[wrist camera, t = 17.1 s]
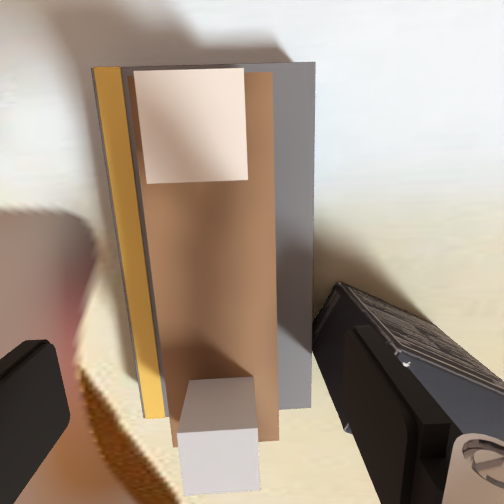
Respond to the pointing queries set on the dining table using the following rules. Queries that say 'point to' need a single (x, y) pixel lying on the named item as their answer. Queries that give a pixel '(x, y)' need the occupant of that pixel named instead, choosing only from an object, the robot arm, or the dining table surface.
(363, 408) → the robot arm
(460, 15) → the dining table surface
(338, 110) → the dining table surface
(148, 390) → the block
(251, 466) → the white cube
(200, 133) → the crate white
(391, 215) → the dining table surface
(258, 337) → the brown long block
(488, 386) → the small box
